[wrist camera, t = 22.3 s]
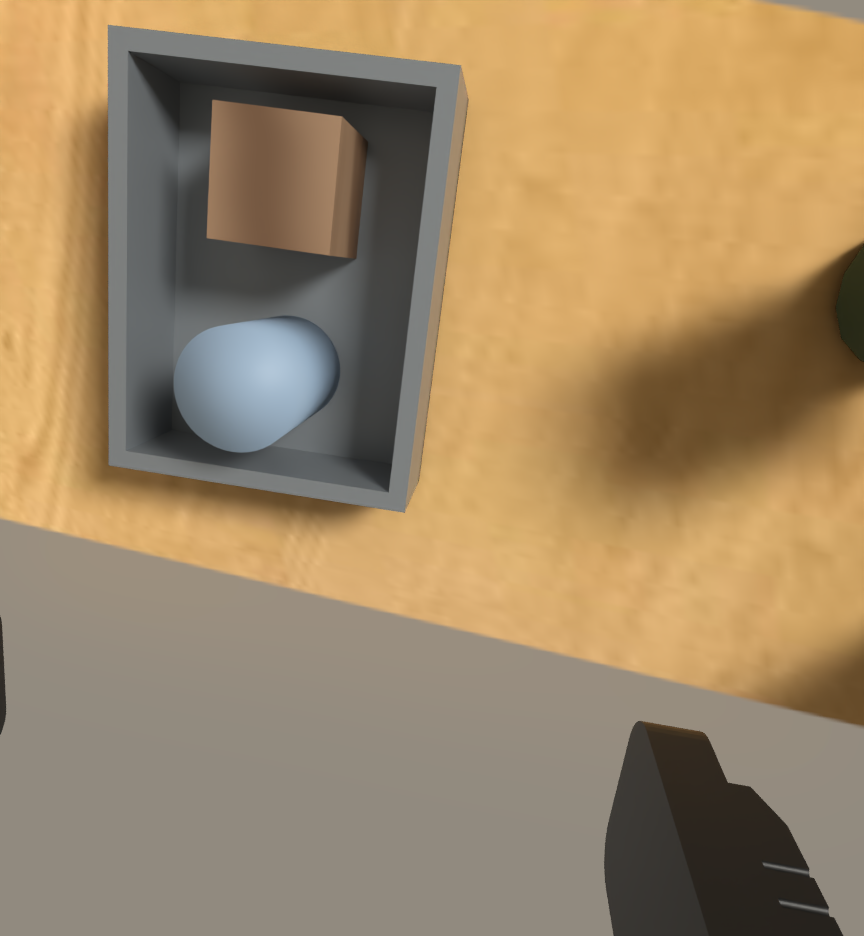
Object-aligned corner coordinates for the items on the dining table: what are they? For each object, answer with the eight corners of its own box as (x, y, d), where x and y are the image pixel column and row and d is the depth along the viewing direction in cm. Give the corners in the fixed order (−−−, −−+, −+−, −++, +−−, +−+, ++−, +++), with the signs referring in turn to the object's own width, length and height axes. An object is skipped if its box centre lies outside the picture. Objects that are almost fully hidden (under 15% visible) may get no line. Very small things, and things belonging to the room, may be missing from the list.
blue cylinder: (343, 321, 33) (300, 332, 26) (336, 424, 34) (294, 460, 27) (241, 310, 33) (173, 318, 26) (238, 411, 34) (173, 444, 28)
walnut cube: (367, 141, 30) (341, 116, 26) (356, 258, 32) (329, 255, 27) (258, 127, 31) (212, 99, 26) (251, 244, 32) (206, 237, 27)
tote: (468, 99, 30) (460, 65, 25) (418, 480, 35) (404, 512, 30) (169, 64, 31) (108, 24, 26) (162, 440, 36) (108, 465, 31)
